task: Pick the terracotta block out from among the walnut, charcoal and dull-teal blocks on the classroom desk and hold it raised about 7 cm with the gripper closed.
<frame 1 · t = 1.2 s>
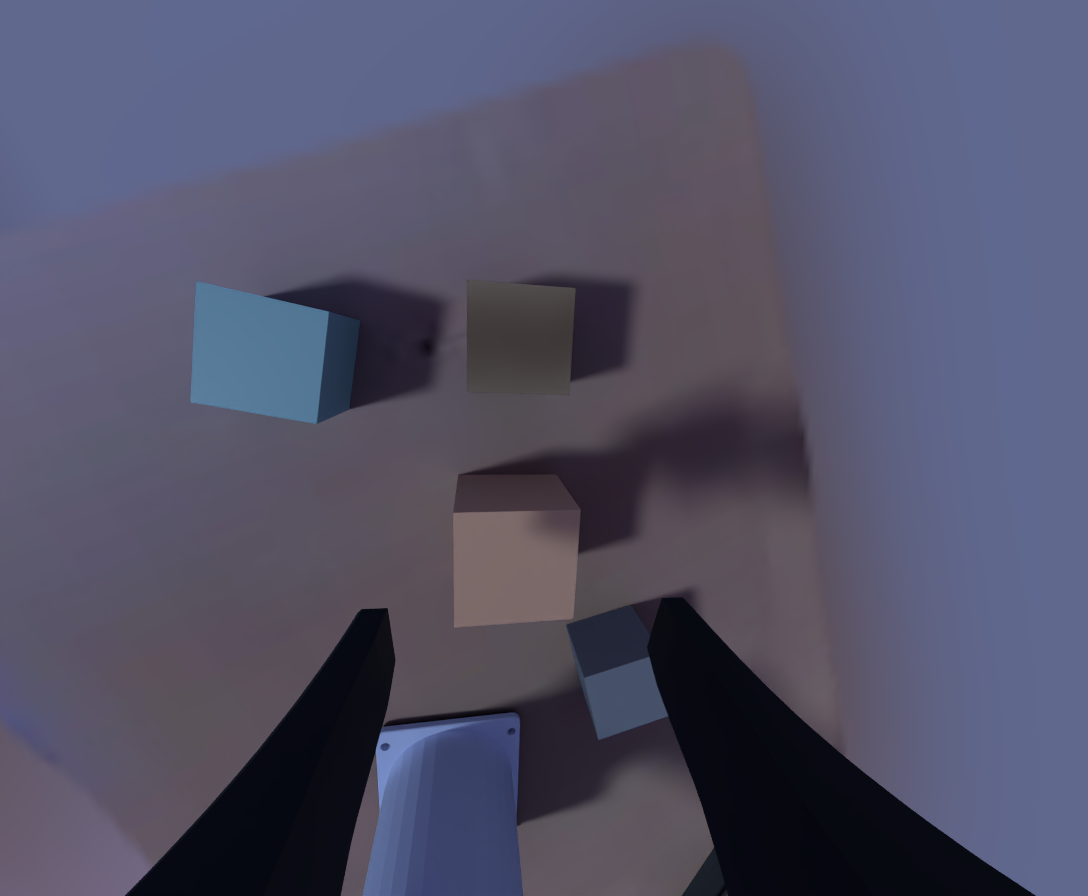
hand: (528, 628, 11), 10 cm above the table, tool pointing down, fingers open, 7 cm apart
charcoal block: (604, 641, 24), on the table
dull teal block: (307, 356, 17), on the table
geiger counter: (707, 867, 30), on the table
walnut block: (511, 342, 19), on the table
terracotta block: (507, 519, 21), on the table
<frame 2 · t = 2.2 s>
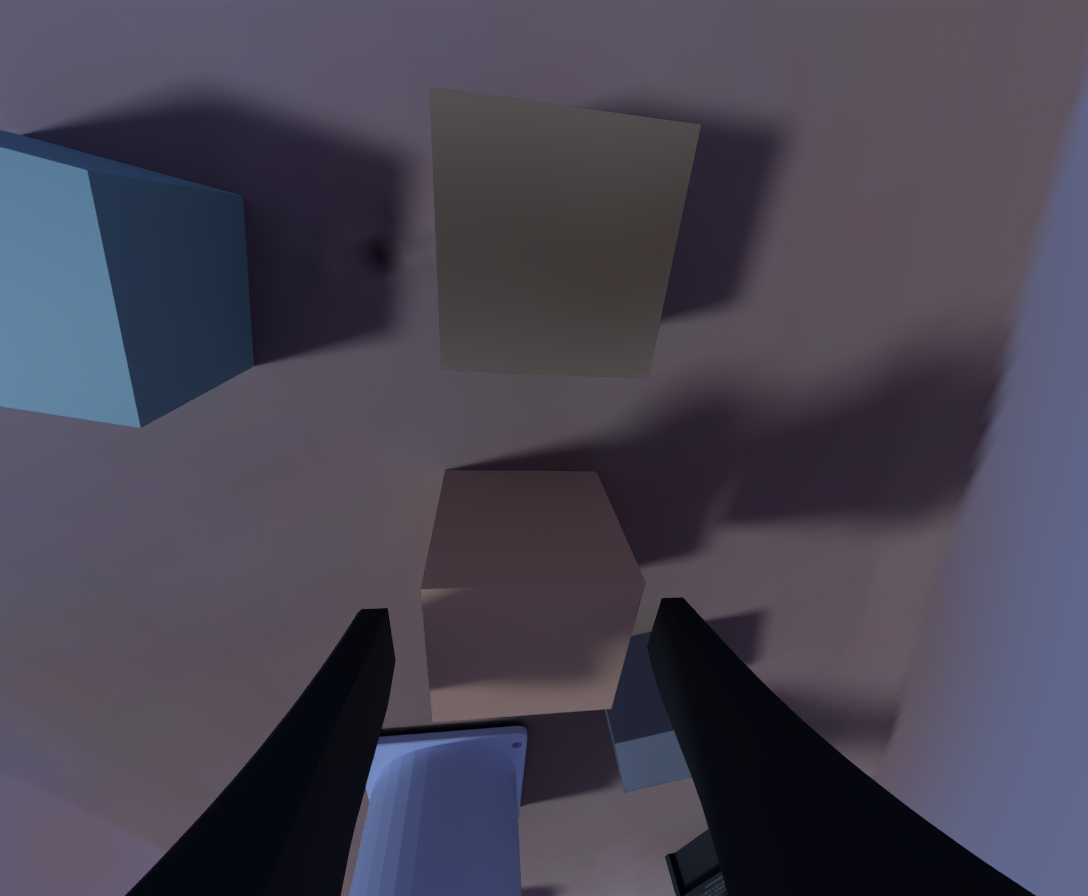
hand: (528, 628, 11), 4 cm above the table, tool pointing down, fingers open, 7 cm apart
charcoal block: (637, 660, 19), on the table
dull teal block: (156, 266, 9), on the table
geiger counter: (711, 829, 30), on the table
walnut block: (536, 251, 10), on the table
terracotta block: (518, 528, 14), on the table
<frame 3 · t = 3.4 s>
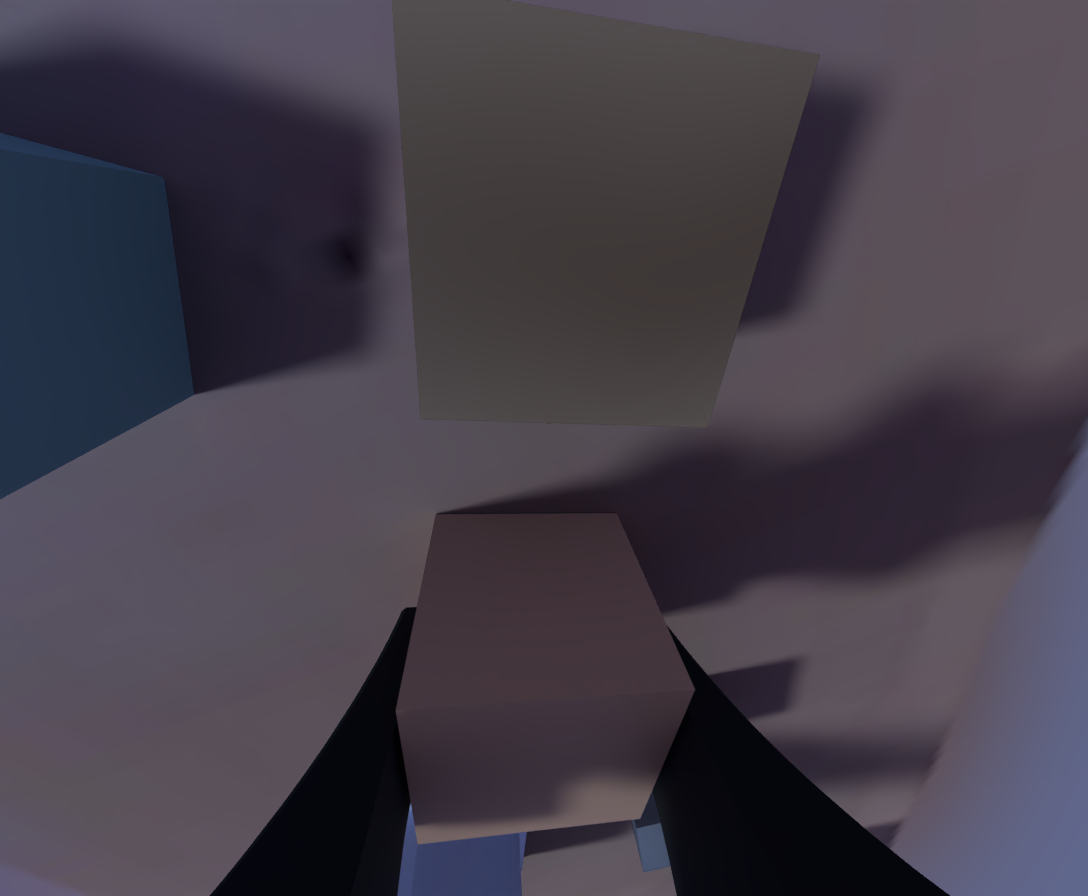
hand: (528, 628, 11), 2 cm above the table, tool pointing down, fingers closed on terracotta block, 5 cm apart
charcoal block: (655, 712, 17), on the table
dull teal block: (57, 269, 7), on the table
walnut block: (548, 250, 8), on the table
terracotta block: (524, 579, 12), on the table, touching gripper
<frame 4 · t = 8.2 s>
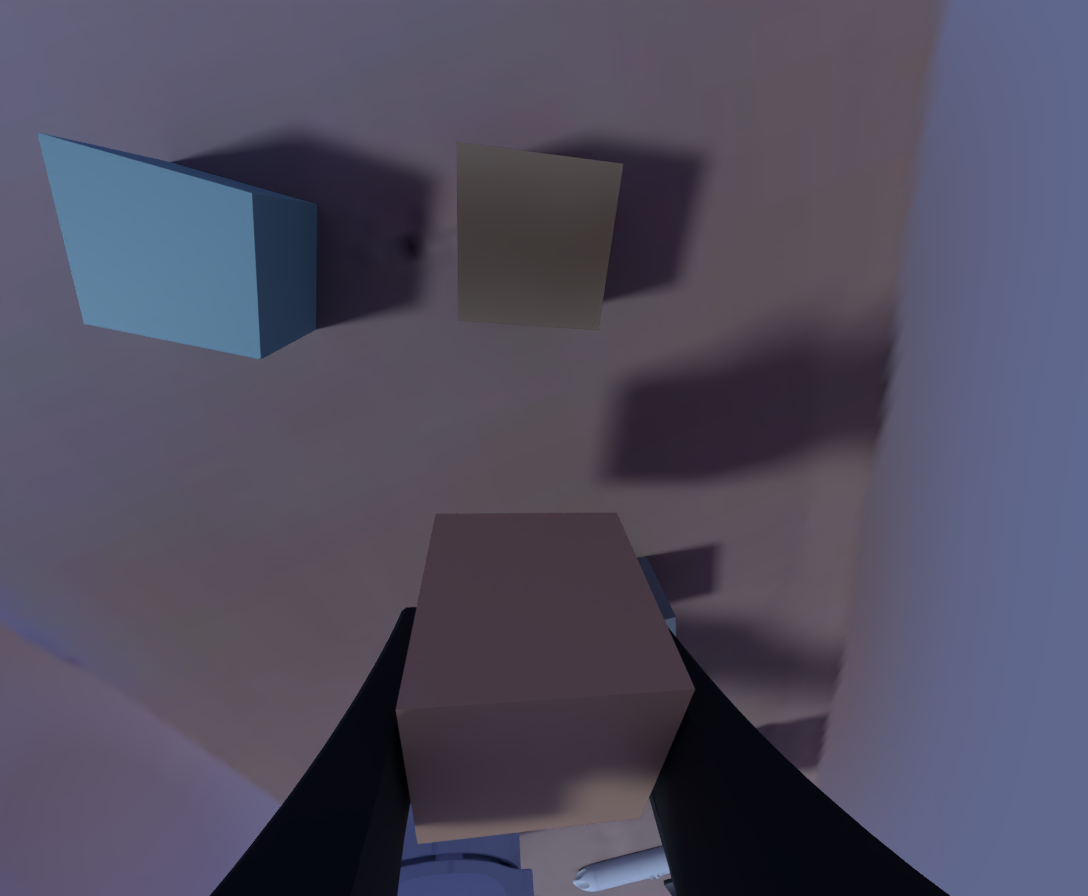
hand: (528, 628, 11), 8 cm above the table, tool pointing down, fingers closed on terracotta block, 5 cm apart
charcoal block: (613, 588, 23), on the table
dull teal block: (251, 254, 13), on the table
geiger counter: (687, 760, 34), on the table
marker: (651, 844, 43), on the table
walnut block: (525, 243, 14), on the table
terracotta block: (524, 579, 12), point 7 cm above the table, touching gripper
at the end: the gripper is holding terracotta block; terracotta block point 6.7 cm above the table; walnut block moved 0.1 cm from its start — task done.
